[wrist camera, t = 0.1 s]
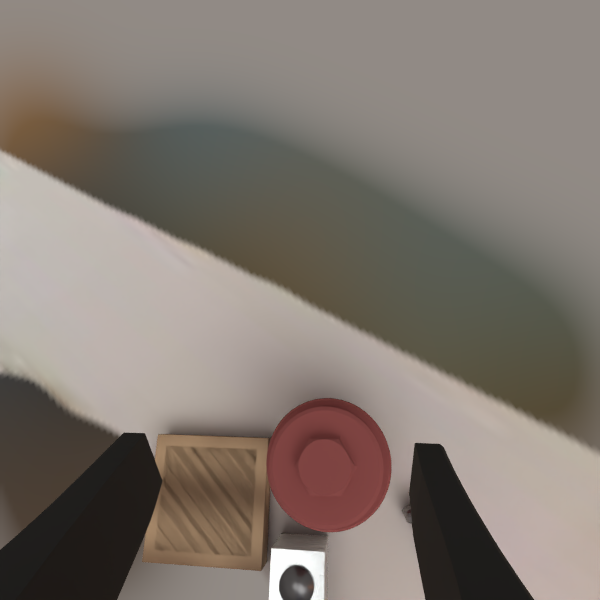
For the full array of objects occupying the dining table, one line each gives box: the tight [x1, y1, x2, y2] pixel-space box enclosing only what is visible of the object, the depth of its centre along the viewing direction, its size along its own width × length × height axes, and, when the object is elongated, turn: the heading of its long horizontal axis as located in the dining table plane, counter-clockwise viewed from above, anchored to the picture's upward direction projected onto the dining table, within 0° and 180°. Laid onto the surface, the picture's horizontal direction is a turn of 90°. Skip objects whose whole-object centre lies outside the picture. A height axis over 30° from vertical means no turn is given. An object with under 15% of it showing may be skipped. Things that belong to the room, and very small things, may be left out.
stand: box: [142, 434, 271, 571], centre depth 40 cm, size 11×11×2 cm
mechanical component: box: [266, 398, 391, 532], centre depth 35 cm, size 12×10×10 cm
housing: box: [269, 533, 328, 600], centre depth 35 cm, size 8×4×6 cm, turn 178°
